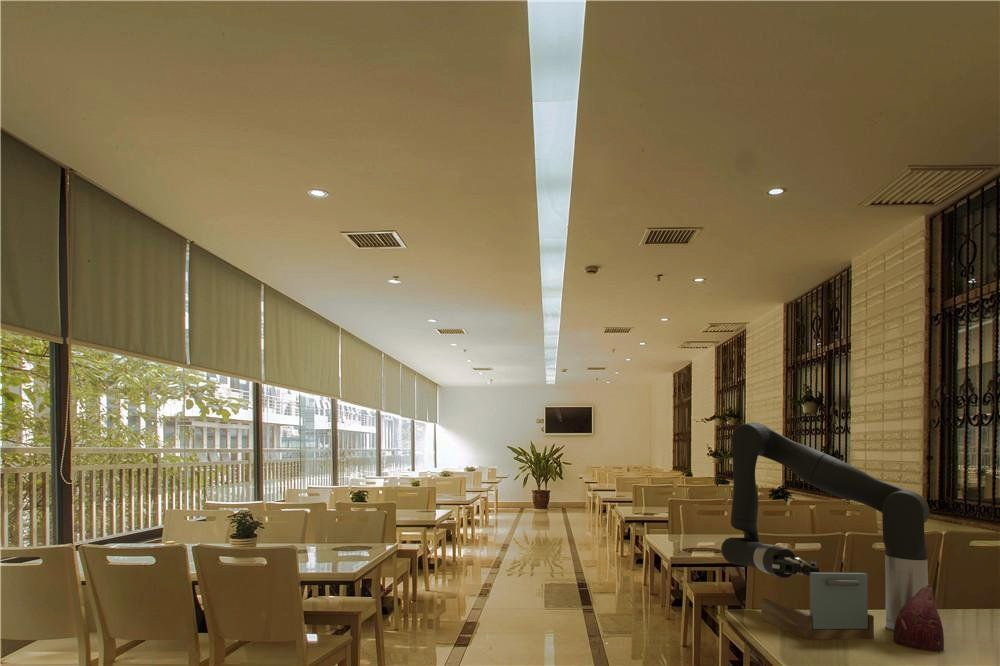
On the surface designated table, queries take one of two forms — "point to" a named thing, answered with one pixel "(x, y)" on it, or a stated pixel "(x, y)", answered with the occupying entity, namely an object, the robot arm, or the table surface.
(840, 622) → the panel
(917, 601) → the vegetable
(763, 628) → the table surface
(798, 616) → the brown wooden tray
